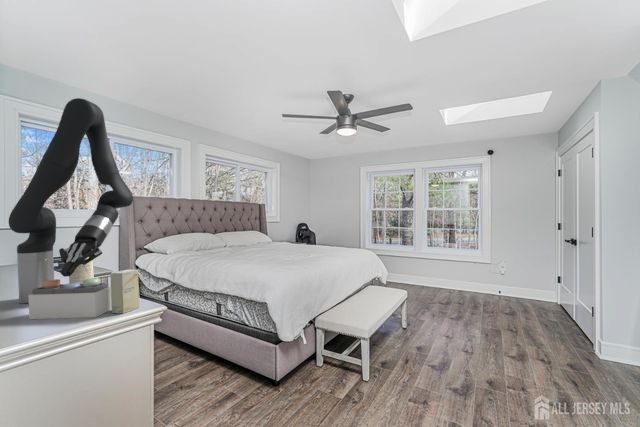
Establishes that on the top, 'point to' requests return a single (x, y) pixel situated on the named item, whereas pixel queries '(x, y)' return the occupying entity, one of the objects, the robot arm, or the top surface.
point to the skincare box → (124, 291)
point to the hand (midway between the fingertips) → (65, 274)
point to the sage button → (91, 282)
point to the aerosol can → (82, 273)
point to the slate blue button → (71, 285)
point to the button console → (69, 302)
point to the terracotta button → (51, 284)
